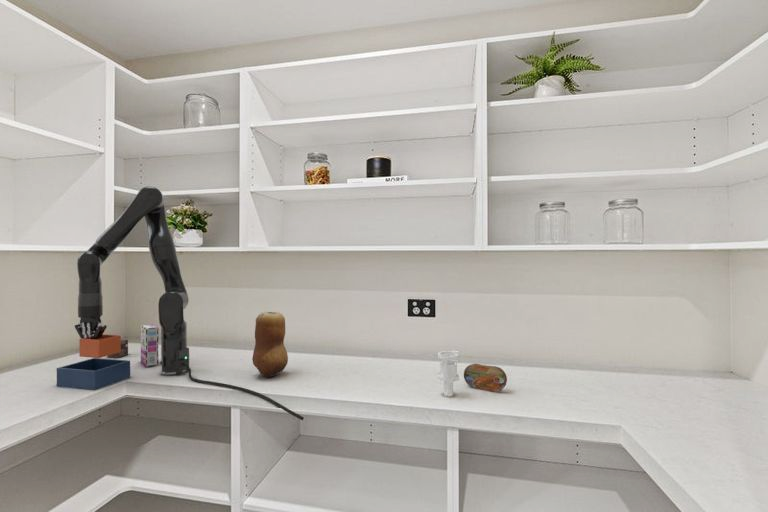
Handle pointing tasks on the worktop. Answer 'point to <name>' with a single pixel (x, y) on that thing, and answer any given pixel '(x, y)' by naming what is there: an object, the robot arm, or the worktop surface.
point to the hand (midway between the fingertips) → (90, 350)
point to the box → (123, 350)
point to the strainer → (448, 370)
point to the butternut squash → (270, 344)
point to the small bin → (100, 346)
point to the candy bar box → (149, 345)
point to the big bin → (93, 373)
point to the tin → (485, 377)
